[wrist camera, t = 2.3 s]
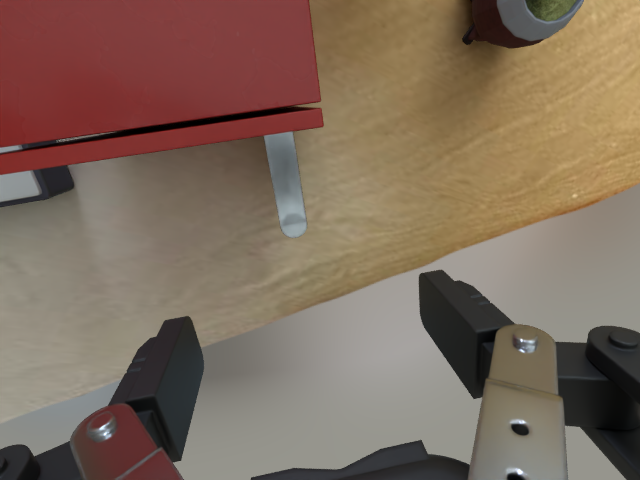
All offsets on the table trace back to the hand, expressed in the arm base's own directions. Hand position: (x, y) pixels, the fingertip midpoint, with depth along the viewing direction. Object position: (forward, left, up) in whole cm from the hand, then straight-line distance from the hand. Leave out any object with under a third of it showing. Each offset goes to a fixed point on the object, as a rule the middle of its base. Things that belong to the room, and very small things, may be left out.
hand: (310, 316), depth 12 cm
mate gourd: (+17, +15, -23) cm, 33 cm away
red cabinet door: (-6, +2, -23) cm, 24 cm away
